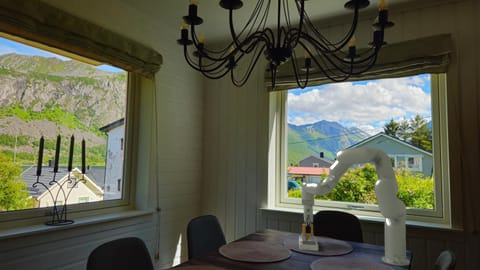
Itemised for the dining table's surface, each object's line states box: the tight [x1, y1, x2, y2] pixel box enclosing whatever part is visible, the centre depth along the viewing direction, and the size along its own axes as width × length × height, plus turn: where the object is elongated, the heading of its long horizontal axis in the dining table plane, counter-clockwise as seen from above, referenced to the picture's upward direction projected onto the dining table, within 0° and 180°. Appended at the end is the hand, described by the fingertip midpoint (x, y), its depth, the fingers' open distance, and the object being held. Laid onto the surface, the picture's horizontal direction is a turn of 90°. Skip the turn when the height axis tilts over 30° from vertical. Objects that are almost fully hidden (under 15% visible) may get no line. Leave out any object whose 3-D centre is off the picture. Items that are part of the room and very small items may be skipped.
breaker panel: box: [298, 232, 319, 252], centre depth 184 cm, size 20×10×5 cm, turn 171°
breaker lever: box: [302, 223, 314, 239], centre depth 188 cm, size 2×6×8 cm, turn 81°
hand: (307, 231), depth 188 cm, fingers open, 9 cm apart
